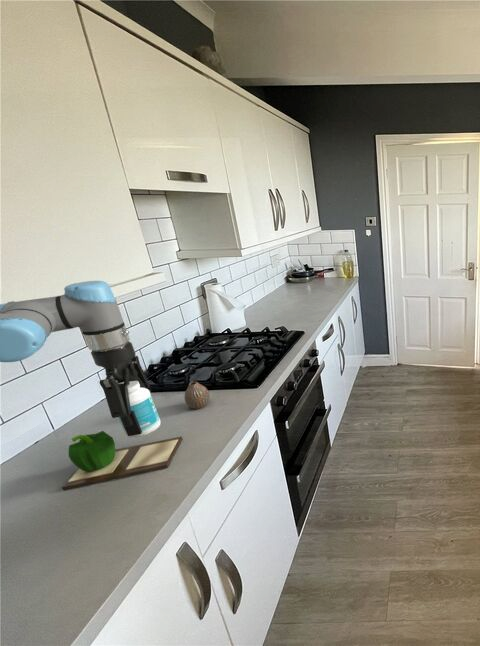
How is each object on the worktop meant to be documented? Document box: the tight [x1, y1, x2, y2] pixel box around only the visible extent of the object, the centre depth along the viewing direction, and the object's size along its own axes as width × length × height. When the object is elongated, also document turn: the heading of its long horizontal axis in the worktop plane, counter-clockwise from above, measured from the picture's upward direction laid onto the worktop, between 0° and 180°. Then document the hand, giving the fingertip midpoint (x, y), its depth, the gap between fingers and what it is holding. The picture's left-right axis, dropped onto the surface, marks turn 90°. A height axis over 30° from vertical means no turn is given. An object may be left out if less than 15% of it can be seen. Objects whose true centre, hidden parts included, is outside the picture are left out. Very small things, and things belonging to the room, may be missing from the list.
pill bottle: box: [118, 381, 162, 438], centre depth 89 cm, size 8×7×14 cm
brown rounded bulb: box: [183, 381, 210, 410], centre depth 116 cm, size 7×7×9 cm
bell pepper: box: [68, 430, 116, 472], centre depth 89 cm, size 8×8×10 cm
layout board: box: [61, 436, 184, 491], centre depth 93 cm, size 22×12×1 cm, turn 108°
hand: (142, 424), depth 91 cm, fingers closed on pill bottle, 7 cm apart
